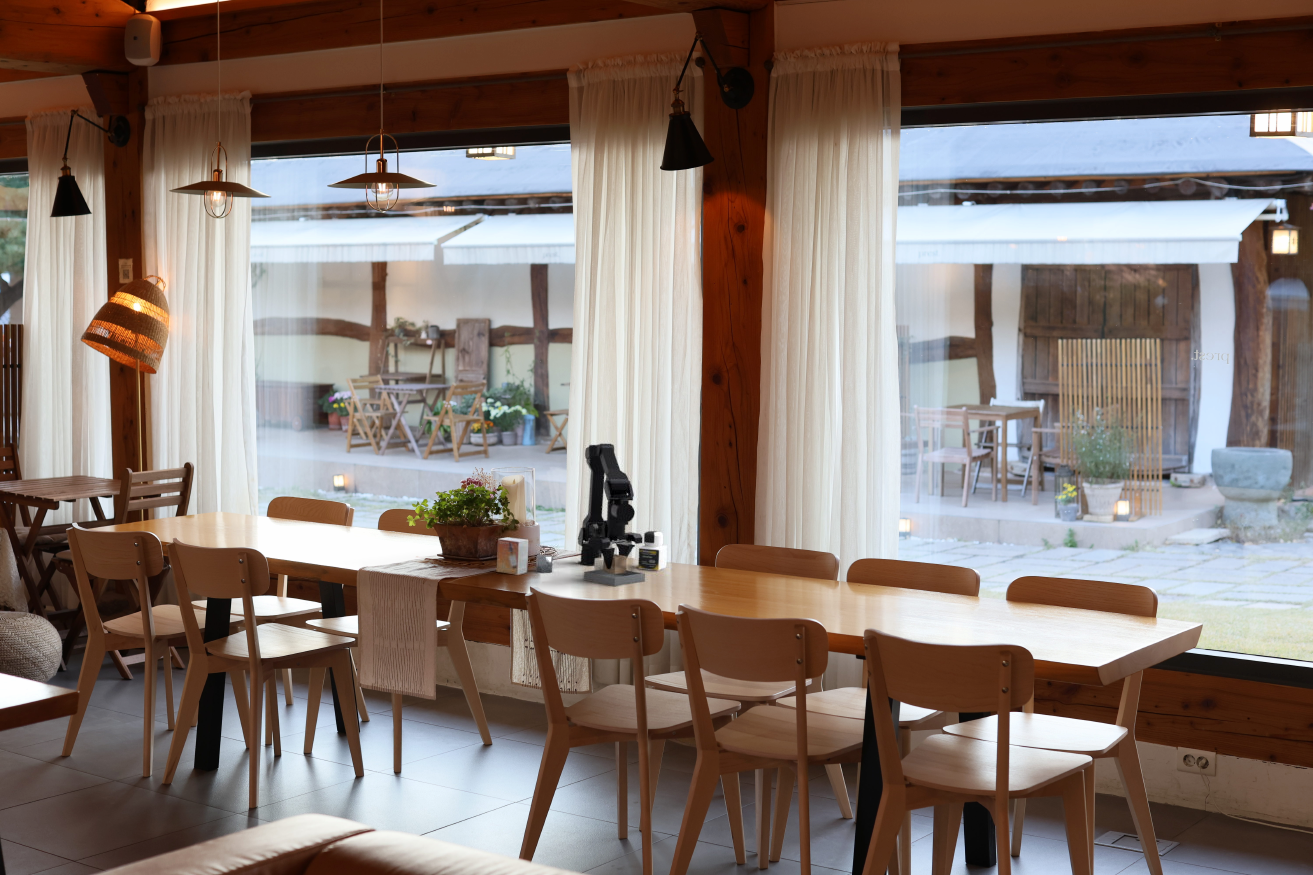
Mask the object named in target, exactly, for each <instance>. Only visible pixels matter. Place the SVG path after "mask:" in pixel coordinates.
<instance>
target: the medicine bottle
mask: <svg viewBox="0 0 1313 875" xmlns="http://www.w3.org/2000/svg"><path fill="white" fill-rule="evenodd" d="M663 536H664V534H663V533H662V532H660V531H656V530H655V531H654V530H649V531H646V532H644V534H643V544H644V545H642V546H639V547H638V563H637V564H638V567H637V568H638V569H639V570H646V571H654V572H655V571H656V572H658V571H662V570H664V569H666V568H667V560H668V559H667V558H668V557H667V556H668V546H667V545H663V543H664V542H663V538H664V537H663Z"/></svg>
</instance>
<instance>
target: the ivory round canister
mask: <svg viewBox="0 0 1313 875" xmlns="http://www.w3.org/2000/svg"><path fill="white" fill-rule="evenodd" d="M600 569H603V557H602V558H595V565H594V569H593V570H600Z"/></svg>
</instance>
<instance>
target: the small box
mask: <svg viewBox="0 0 1313 875" xmlns="http://www.w3.org/2000/svg"><path fill="white" fill-rule="evenodd" d="M497 539H498V540H497V554H496V555H497V556H496V558H497V559H496V572H498V573H505V574H510V575H515V576H518V575H523V574H526V573H528V563H529V562H528V559H529V558H528V557H529V556H528V555H529V552H528V551H529V539H523V538H515V537H510V536H509V537H502V538H497Z"/></svg>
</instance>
